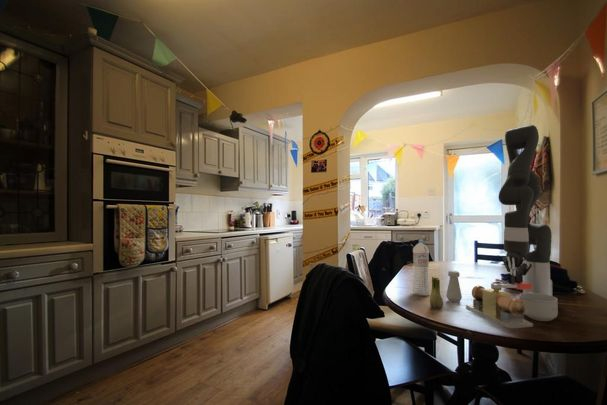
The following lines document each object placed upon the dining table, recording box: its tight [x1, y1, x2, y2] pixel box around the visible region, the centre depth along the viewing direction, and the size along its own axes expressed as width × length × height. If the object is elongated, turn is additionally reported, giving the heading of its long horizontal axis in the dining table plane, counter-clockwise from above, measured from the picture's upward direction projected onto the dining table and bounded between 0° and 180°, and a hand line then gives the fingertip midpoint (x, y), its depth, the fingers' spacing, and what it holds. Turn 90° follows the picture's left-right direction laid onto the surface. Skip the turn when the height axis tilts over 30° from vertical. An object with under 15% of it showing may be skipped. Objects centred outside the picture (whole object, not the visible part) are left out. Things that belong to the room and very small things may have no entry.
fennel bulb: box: [429, 276, 444, 310], centre depth 115 cm, size 6×5×12 cm
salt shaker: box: [445, 269, 463, 304], centre depth 123 cm, size 6×6×13 cm
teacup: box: [519, 292, 559, 322], centre depth 106 cm, size 14×11×8 cm
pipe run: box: [465, 285, 534, 329], centre depth 106 cm, size 9×20×10 cm, turn 8°
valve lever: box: [490, 281, 532, 291], centre depth 106 cm, size 14×3×2 cm, turn 90°
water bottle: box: [412, 239, 430, 297], centre depth 134 cm, size 7×7×25 cm
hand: (516, 285), depth 109 cm, fingers closed
